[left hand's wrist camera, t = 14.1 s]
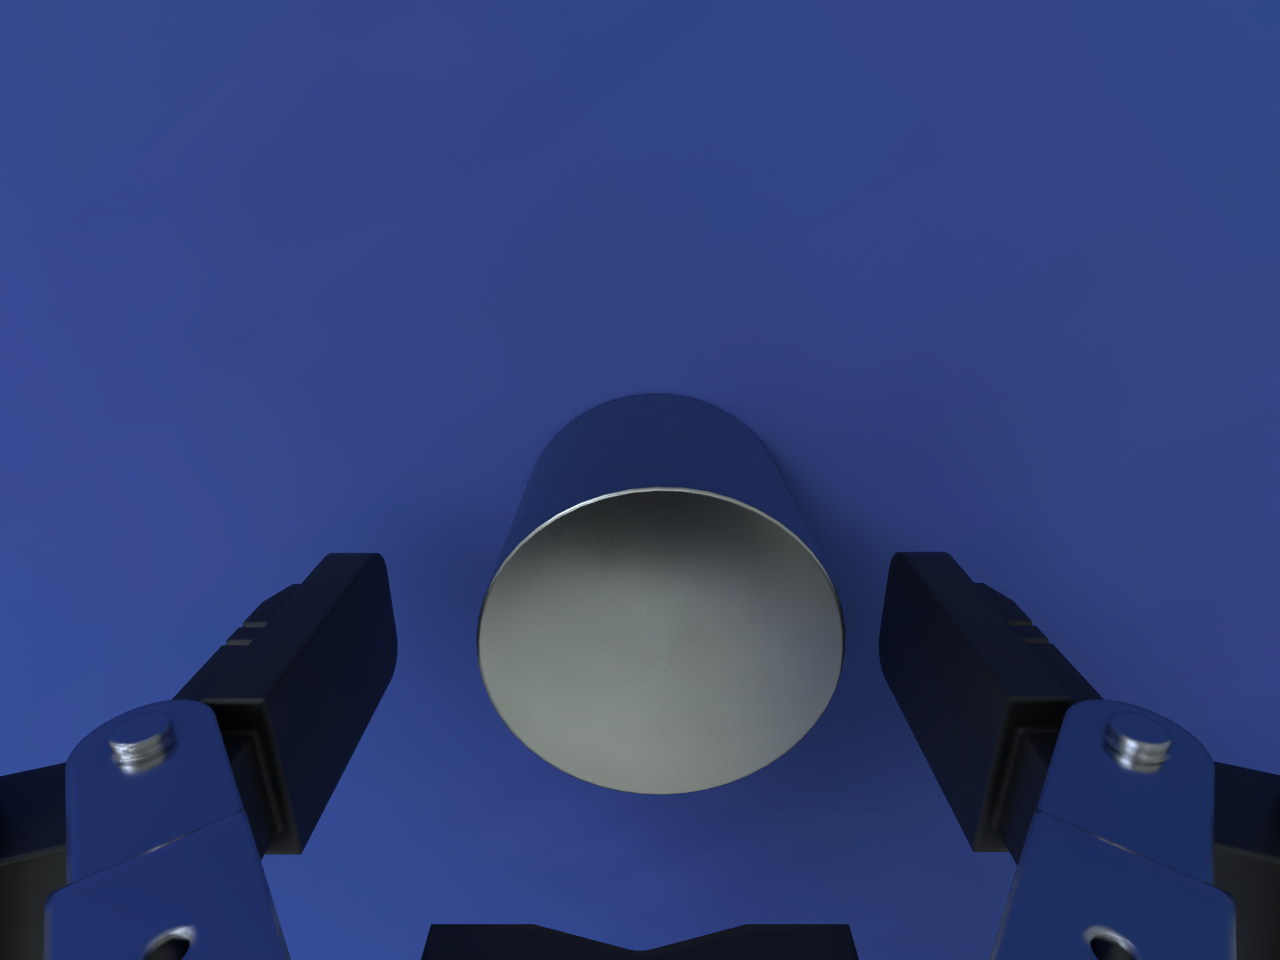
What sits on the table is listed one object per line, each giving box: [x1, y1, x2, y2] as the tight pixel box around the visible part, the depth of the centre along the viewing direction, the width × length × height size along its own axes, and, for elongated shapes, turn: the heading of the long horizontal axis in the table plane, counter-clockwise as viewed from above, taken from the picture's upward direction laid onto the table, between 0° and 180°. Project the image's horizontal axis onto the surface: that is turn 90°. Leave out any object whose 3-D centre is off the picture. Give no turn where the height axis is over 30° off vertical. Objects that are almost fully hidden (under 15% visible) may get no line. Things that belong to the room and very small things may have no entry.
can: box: [476, 394, 845, 795], centre depth 12 cm, size 5×5×4 cm
